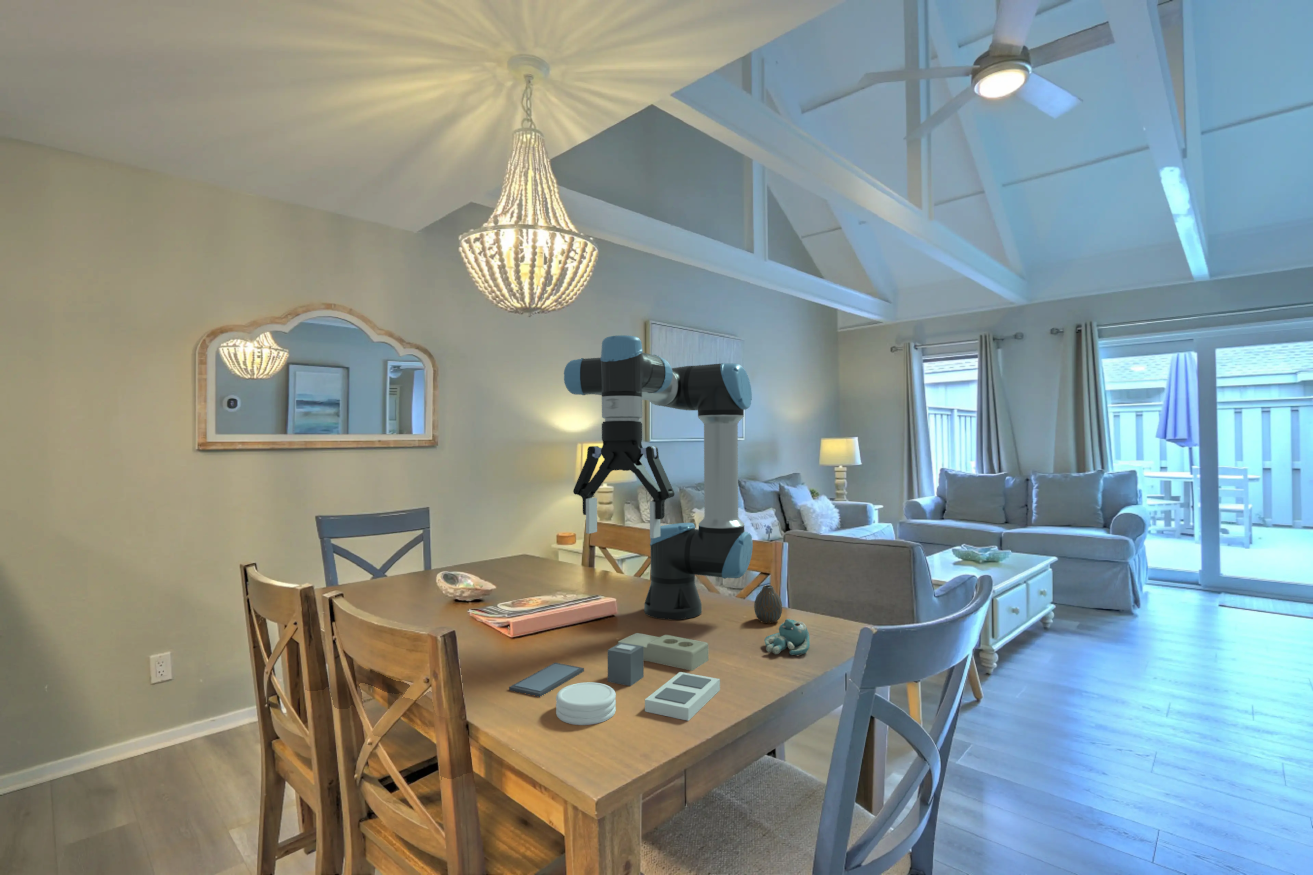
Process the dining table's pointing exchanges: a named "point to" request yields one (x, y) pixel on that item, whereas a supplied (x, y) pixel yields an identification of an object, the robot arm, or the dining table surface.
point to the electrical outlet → (671, 650)
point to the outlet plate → (682, 696)
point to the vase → (768, 605)
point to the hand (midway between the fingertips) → (622, 535)
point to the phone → (546, 679)
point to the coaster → (585, 703)
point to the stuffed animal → (789, 638)
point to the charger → (625, 664)
